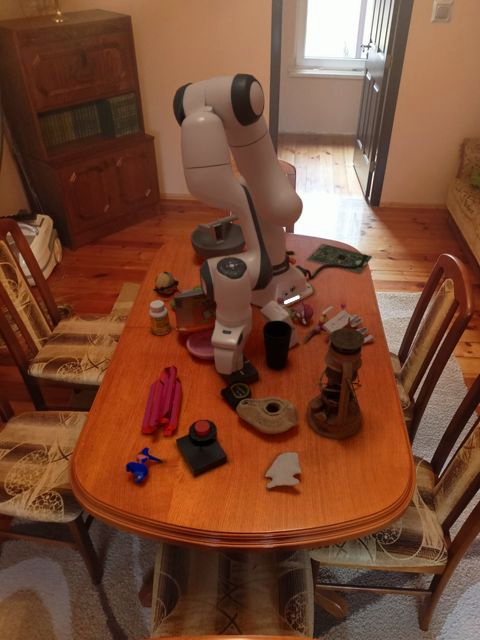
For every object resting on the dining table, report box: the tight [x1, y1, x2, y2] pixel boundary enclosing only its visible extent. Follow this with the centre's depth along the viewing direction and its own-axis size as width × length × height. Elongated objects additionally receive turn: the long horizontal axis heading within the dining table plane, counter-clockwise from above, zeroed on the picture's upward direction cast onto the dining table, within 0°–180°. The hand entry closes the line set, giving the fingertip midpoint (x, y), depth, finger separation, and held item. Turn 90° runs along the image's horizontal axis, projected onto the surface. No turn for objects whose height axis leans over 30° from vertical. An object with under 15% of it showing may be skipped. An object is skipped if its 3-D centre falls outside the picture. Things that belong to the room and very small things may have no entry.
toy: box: [152, 270, 180, 295], centre depth 159 cm, size 8×9×15 cm
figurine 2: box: [278, 298, 321, 343], centre depth 144 cm, size 11×13×15 cm
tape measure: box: [220, 382, 253, 412], centre depth 122 cm, size 7×7×4 cm
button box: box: [175, 419, 228, 478], centre depth 110 cm, size 9×11×4 cm
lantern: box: [306, 317, 365, 440], centre depth 109 cm, size 17×13×30 cm
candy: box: [318, 301, 347, 347], centre depth 144 cm, size 18×8×6 cm, turn 173°
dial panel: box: [214, 353, 260, 387], centre depth 130 cm, size 8×10×3 cm
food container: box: [173, 289, 217, 335], centre depth 140 cm, size 16×16×11 cm
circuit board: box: [307, 243, 373, 274], centre depth 180 cm, size 14×20×1 cm
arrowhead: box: [264, 451, 302, 489], centre depth 106 cm, size 8×2×10 cm
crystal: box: [140, 364, 183, 437], centre depth 121 cm, size 8×6×25 cm
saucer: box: [186, 330, 215, 361], centre depth 138 cm, size 12×12×3 cm
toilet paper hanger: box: [197, 213, 239, 244], centre depth 174 cm, size 22×13×6 cm, turn 127°
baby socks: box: [350, 313, 374, 344], centre depth 144 cm, size 12×5×3 cm, turn 16°
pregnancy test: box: [320, 305, 354, 335], centre depth 143 cm, size 8×12×1 cm, turn 143°
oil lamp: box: [235, 396, 299, 435], centre depth 115 cm, size 11×15×8 cm
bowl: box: [190, 222, 246, 261], centre depth 177 cm, size 20×20×10 cm
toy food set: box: [169, 285, 201, 310], centre depth 155 cm, size 13×13×3 cm
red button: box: [195, 419, 210, 437], centre depth 110 cm, size 3×3×2 cm
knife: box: [286, 250, 295, 255], centre depth 186 cm, size 14×4×1 cm, turn 30°
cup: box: [262, 320, 292, 371], centre depth 131 cm, size 8×8×12 cm
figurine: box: [125, 446, 163, 484], centre depth 106 cm, size 5×8×5 cm, turn 158°
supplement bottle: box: [148, 299, 171, 336], centre depth 143 cm, size 5×5×10 cm
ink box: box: [259, 301, 301, 349], centre depth 138 cm, size 9×5×12 cm, turn 33°
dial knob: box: [236, 353, 243, 370], centre depth 128 cm, size 4×4×4 cm
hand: (236, 363), depth 128 cm, fingers closed on dial knob, 3 cm apart
